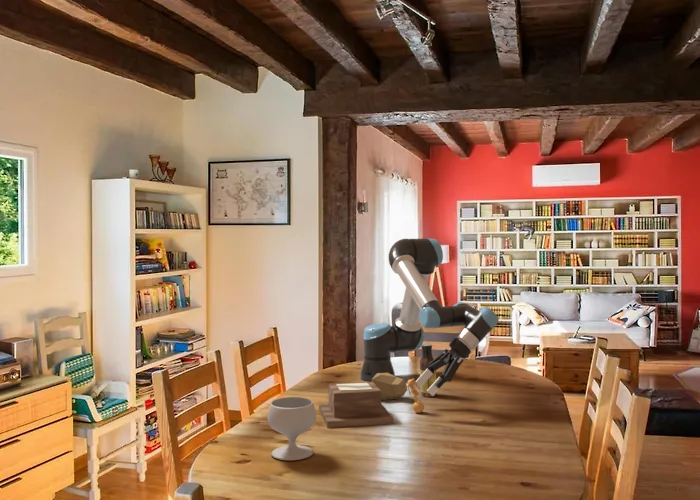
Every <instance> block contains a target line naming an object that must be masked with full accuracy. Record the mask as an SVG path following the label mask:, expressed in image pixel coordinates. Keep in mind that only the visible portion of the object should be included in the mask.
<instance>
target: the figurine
mask: <svg viewBox="0 0 700 500" xmlns="http://www.w3.org/2000/svg"><path fill="white" fill-rule="evenodd" d="M415 381H416V380H415V378H414V377H413V378H411V379H408V380H407V384H406V385H407V391H408V393H409V395H410V396H411V395H412V394H413V396H412V397H413V401H414V402H413V405H412V410H413V412H415V413H416V414H421V413H422V412H423V411H424V409H425V405H424V403H423V402H422V401H421V400H420V399H418V398H417V397H418V396H419V394H420V393H419V392H418V390H421V387H419V385H418V384H417V383H416V382H415ZM415 386H416V388H417V389H418V390H417V389H416V388H415Z"/></svg>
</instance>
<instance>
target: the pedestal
mask: <svg viewBox="0 0 700 500" xmlns="http://www.w3.org/2000/svg"><path fill="white" fill-rule="evenodd" d="M327 387H328V402H325V403H324V402H321V403H318V410H319V412H320V414H321V416H322V417H321V418H322V419H323V421H324V424H325V426H326V428H327V429H328V428H343V427H345V428H348V427H359V426H360V427H361V426H375V425H377V426H378V425H390V424H392V425H393V424H394V421H393V420H394V418H393V416H392V415H391V413H390V412H389V411H388V410H387V408H386V407H385V406H384V405H383V404H382V399H381V390H380V389H379V388H378V387H377V386H376V385H375V384H374V383H373V381H355V382H340V383H339V382H336V383H328V386H327Z"/></svg>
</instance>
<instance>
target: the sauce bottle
mask: <svg viewBox="0 0 700 500" xmlns="http://www.w3.org/2000/svg"><path fill="white" fill-rule="evenodd" d="M420 348H421V358H420V359H419V377H420V376H421V375H422V374H423V373H424V371H425V370H426V369H427V367H428V366H427V364H428V363H430V362H431V361H432V360H434V359H435V358H434V357H433V354H432V349H433V345H432V343H423V344H422V345H421V347H420ZM436 380H437V370H436V371H435V372H434V374H432V375H431V377H430V378H429V379H428V380H427V381H426V382H425V383H424V384H423V385H422V387H420V395H421V396H423V397H424V398H425V397H426V398H432V397H433V398H434V397H435V396H437V392H438V391H437V392H436V393H435V395H434V396H432V395H431V394H430V393H428V392H427V390H428V389H429V388H430V386H431V385H432V384H433V383H434V382H435V381H436Z"/></svg>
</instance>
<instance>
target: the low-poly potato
mask: <svg viewBox="0 0 700 500" xmlns="http://www.w3.org/2000/svg"><path fill="white" fill-rule="evenodd" d="M372 381H373V383H374V384H375V385H376V386H377V387H378V388H379V389H380V390H381V401H387V400H388V401H390V400H394V399H398V398H400V397H403V396H405V394H406V392H407V391H408V388H407V385H408V384H407V381H406V380H405V379H403V378H400V377H398V376H394V375H392V374H389V373H377V374H376V375H375V376H374V377H373V378H372ZM372 381H371V382H372Z"/></svg>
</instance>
